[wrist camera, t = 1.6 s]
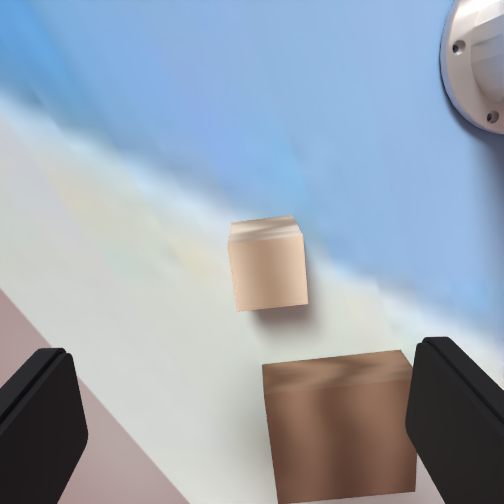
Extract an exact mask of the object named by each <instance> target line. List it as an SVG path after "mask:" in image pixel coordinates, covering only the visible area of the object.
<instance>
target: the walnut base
mask: <svg viewBox="0 0 504 504" xmlns="http://www.w3.org/2000/svg"><path fill="white" fill-rule="evenodd" d="M412 371H413V367H412V366H411V364H410V363H409V361H408V360H407V359H406V357H405V356H404V354H403V353H402V351H401V350H395V351H385V352H376V353H366V354H357V355H348V356H338V357H329V358H320V359H310V360H301V361H292V362H282V363H273V364H264V365H262V372H263V388H264V399H265V407H266V414H267V422H268V430H269V437H270V445H271V452H272V460H273V467H274V475H275V483H276V490H277V498H278V504H290V503H300V502H310V501H321V500H331V499H342V498H352V497H363V496H373V495H383V494H394V493H404V492H415V485H416V463H417V451H416V449H415V448H414V446H413V444H412V442H411V440H410V439H409V437H408V434H407V432H406V428H405V418H406V411H407V404H408V398H409V391H410V385H411V378H412Z"/></svg>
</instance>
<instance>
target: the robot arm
mask: <svg viewBox="0 0 504 504" xmlns="http://www.w3.org/2000/svg"><path fill="white" fill-rule="evenodd" d="M452 47H454V48H455V51H454V52H453V49H452ZM440 61H441V73H442V78H443V81H444V85H445V89H446V92H447V94H448V96H449V98H450V100H451V101H452V103H453V105H454V107H455V108H456V109H457V110H458V111H459V113H460V114H461V115H462V116H463V117H464V118H465V119H466V120H468V121H469V122H470V123H472V124H473V125H474V126H476V127H478V128H481V129H483V130H485V131H488V132H491V133H496V134H502V135H504V0H454V2H453V4H452V6H451V9H450V11H449V13H448V16H447V19H446V23H445V27H444V31H443V34H442V41H441V52H440ZM487 115H488V118H487ZM405 428H406V432H407V434H408V437H409V439H410V440H411V442H412V444H413V446H414V448H415V449H416V451H417V453H418V455H419V457H420V458H421V460H422V462H423V464H424V466H425V468H426V469H427V471H428V473H429V475H430V477H431V478H432V480H433V482H434V484H435V486H436V488H437V489H438V491H439V493H440V495H441V497H442V498H443V500H444V502H445V504H504V391H503V390H502V389H501V388H500V387H499V386H498V385H497V384H496V383H495V382H494V381H493V380H492V379H491V378H490V377H489V376H488V375H487V374H486V373H485V372H484V371H483V370H482V369H481V368H480V367H479V366H478V365H477V364H476V363H475V362H474V361H473V360H472V359H471V358H470V357H469V356H468V355H467V354H466V353H465V352H464V351H463V350H462V349H461V348H460V347H459V346H458V345H456V344H455V343H454V342H453V341H452V340H451V339H450V338H449V337H426V338H424V339H423V341H422V343H418V344H417V346H416V351H415V358H414V365H413V371H412V378H411V385H410V391H409V398H408V404H407V411H406V418H405ZM87 440H88V429H87V425H86V420H85V415H84V410H83V405H82V401H81V395H80V391H79V386H78V381H77V376H76V371H75V366H74V362H73V357H72V355H71V354H70V353H66V351H65V349H63V348H41V349H38V350H37V351H36V352H35V353H34V354H33V355H32V356H31V357H30V358H29V359H28V360H27V361H26V362H25V363H24V364H23V365H22V366H21V367H20V369H18V370H17V371H16V373H15V374H14V375H13V376H12V377H11V378H10V379H9V380H8V381H7V382H6V383H5V384H4V385H3V386H2V387H1V388H0V504H57V503H58V501H59V499H60V497H61V495H62V493H63V491H64V489H65V487H66V485H67V483H68V481H69V479H70V477H71V475H72V473H73V471H74V469H75V467H76V465H77V463H78V461H79V459H80V457H81V455H82V453H83V451H84V449H85V447H86V444H87Z"/></svg>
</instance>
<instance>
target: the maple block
mask: <svg viewBox="0 0 504 504" xmlns="http://www.w3.org/2000/svg"><path fill="white" fill-rule="evenodd" d="M227 245H228V252H229V259H230V266H231V272H232V279H233V286H234V293H235V299H236V306H237V312H240V311H249V310H258V309H267V308H276V307H285V306H294V305H303V304H308V294H307V281H306V268H305V254H304V241H303V235H302V233H301V231H300V229H299V227H298V225H297V223H296V221H295V220H294V218H293V216H292V215H290V216H282V217H273V218H265V219H256V220H248V221H239V222H231V227H230V233H229V238H228V244H227Z"/></svg>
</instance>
